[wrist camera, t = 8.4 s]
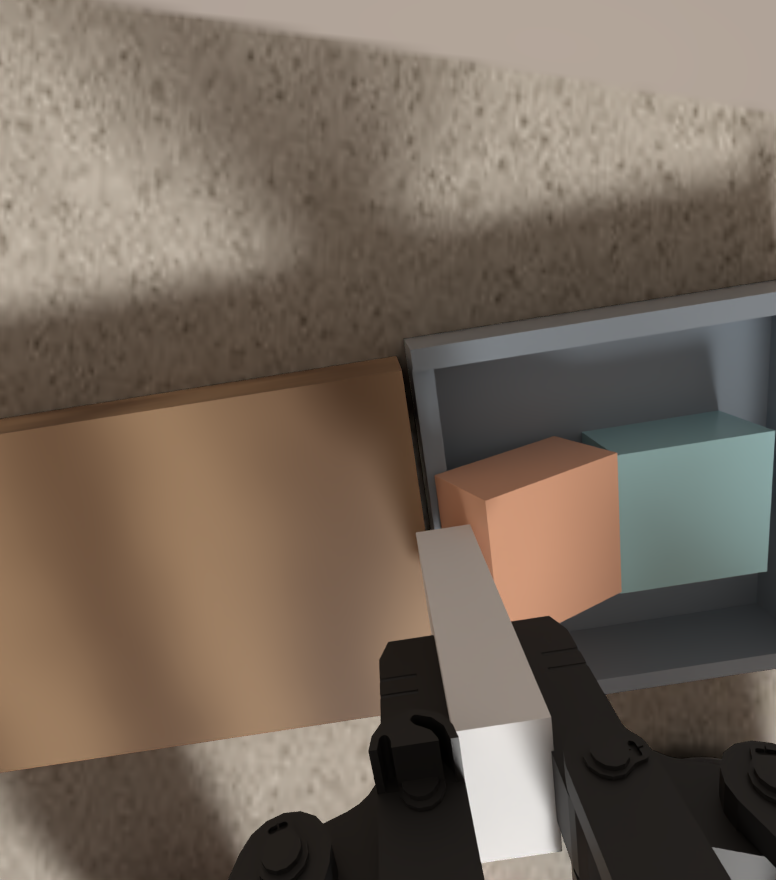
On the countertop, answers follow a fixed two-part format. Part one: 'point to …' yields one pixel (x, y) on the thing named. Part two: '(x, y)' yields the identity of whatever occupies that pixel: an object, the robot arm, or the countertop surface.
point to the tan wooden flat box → (205, 562)
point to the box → (609, 405)
